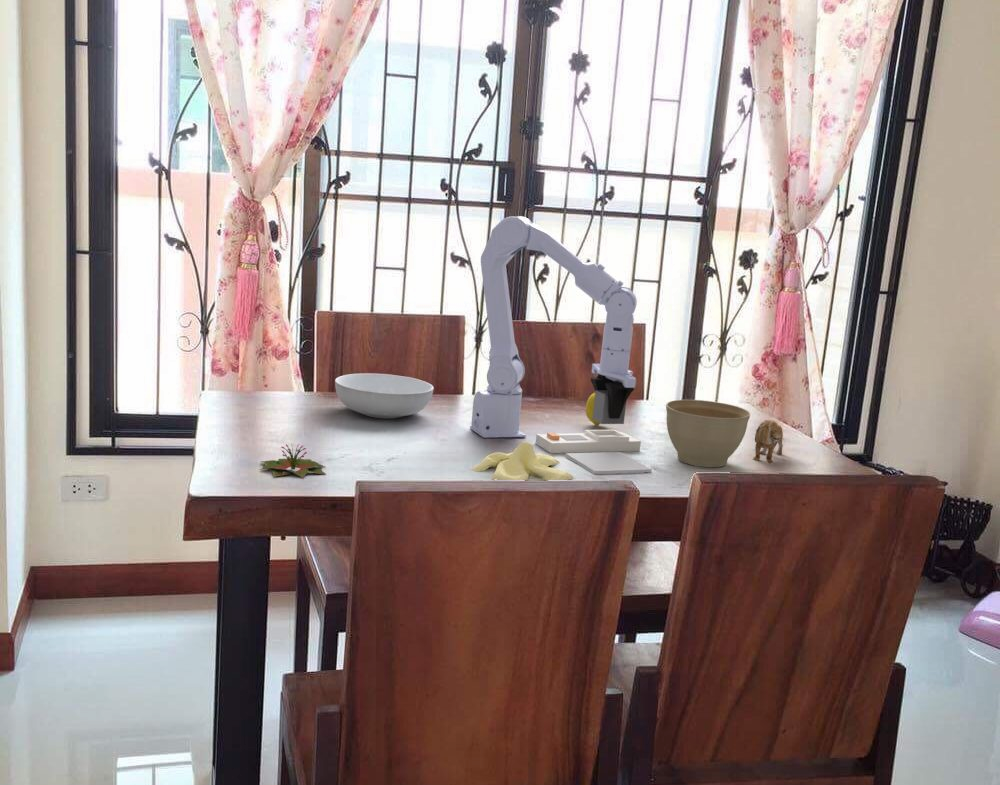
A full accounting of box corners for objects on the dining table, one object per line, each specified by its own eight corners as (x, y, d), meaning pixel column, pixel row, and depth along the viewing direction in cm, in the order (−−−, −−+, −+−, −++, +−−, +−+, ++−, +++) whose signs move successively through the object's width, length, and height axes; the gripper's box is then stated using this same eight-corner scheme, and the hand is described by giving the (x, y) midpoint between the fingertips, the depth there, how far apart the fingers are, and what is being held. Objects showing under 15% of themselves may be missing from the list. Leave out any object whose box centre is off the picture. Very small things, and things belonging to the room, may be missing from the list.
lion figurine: (776, 468, 200) (783, 423, 198) (749, 463, 201) (755, 419, 199) (783, 452, 213) (789, 411, 211) (757, 448, 215) (763, 407, 213)
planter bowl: (685, 446, 210) (691, 395, 208) (756, 464, 200) (764, 411, 198) (644, 458, 198) (651, 404, 196) (718, 478, 188) (726, 421, 186)
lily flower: (316, 460, 178) (317, 435, 178) (338, 479, 168) (340, 453, 167) (248, 463, 173) (249, 437, 172) (267, 483, 162) (268, 456, 162)
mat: (594, 474, 183) (594, 471, 183) (565, 456, 194) (565, 453, 194) (651, 472, 188) (651, 469, 188) (619, 454, 199) (620, 451, 199)
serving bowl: (427, 429, 206) (429, 396, 205) (324, 420, 206) (326, 387, 205) (435, 407, 226) (437, 377, 225) (342, 399, 226) (344, 369, 225)
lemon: (607, 430, 219) (611, 394, 217) (582, 426, 220) (586, 391, 218) (610, 425, 224) (614, 389, 223) (585, 421, 225) (589, 386, 224)
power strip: (550, 453, 195) (551, 439, 195) (535, 443, 202) (536, 430, 201) (639, 450, 203) (641, 437, 203) (622, 441, 210) (624, 428, 209)
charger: (601, 424, 200) (605, 394, 199) (592, 419, 204) (595, 390, 203) (624, 423, 202) (627, 394, 201) (614, 419, 206) (617, 390, 205)
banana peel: (546, 457, 194) (549, 426, 193) (594, 486, 178) (597, 452, 177) (438, 461, 185) (441, 428, 184) (478, 492, 169) (481, 456, 167)
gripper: (652, 356, 195) (644, 424, 198) (616, 343, 208) (608, 407, 211) (620, 355, 192) (612, 424, 195) (585, 342, 205) (578, 407, 208)
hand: (608, 415), depth 203 cm, fingers closed on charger, 4 cm apart
